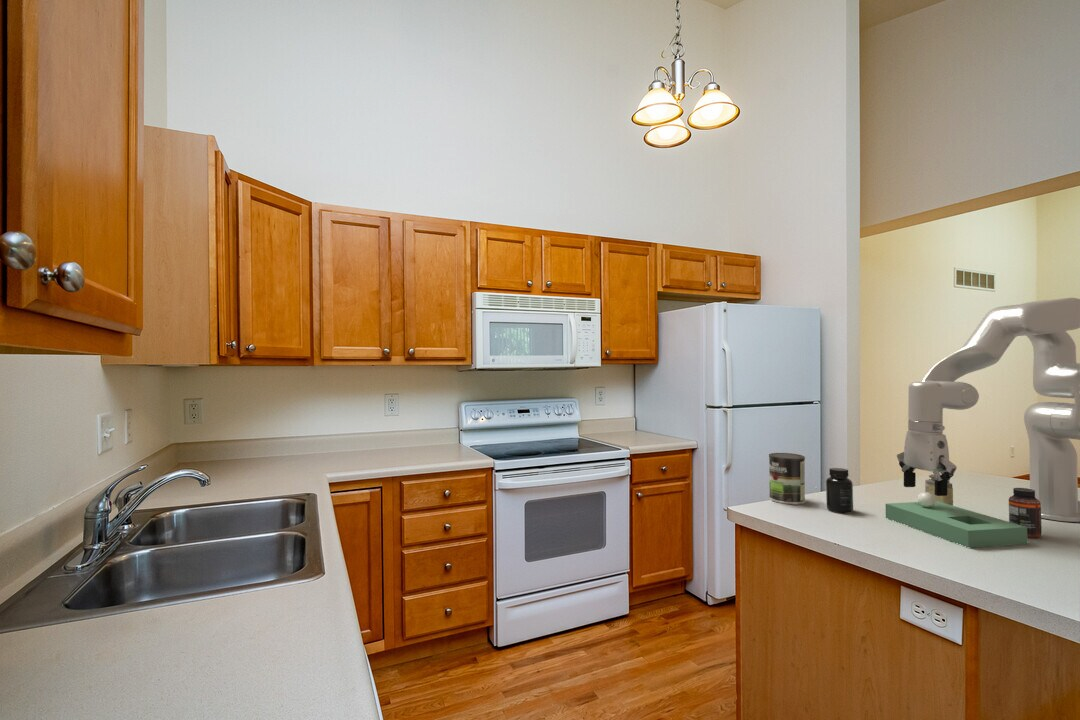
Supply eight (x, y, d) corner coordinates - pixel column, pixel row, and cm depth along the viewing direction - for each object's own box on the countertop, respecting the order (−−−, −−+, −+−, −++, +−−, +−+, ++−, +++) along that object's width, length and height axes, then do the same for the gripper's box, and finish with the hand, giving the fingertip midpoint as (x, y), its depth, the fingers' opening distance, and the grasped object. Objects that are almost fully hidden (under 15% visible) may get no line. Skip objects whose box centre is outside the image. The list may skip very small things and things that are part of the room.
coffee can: (788, 506, 158) (788, 459, 158) (762, 498, 167) (761, 454, 167) (813, 502, 162) (812, 456, 162) (785, 494, 171) (785, 451, 171)
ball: (926, 504, 143) (926, 490, 143) (940, 508, 140) (939, 493, 140) (913, 505, 143) (913, 490, 143) (926, 509, 139) (926, 494, 139)
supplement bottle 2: (1033, 532, 132) (1032, 487, 132) (1047, 539, 126) (1046, 492, 126) (1004, 530, 134) (1003, 485, 134) (1016, 537, 128) (1015, 491, 128)
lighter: (922, 507, 156) (921, 473, 156) (930, 505, 157) (929, 472, 157) (949, 513, 149) (948, 478, 149) (956, 511, 151) (956, 477, 151)
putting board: (936, 515, 147) (936, 500, 147) (1027, 544, 124) (1027, 527, 124) (885, 518, 145) (885, 503, 145) (968, 548, 121) (968, 530, 121)
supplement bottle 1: (853, 509, 154) (853, 468, 154) (853, 515, 148) (852, 472, 148) (827, 506, 158) (826, 466, 158) (825, 511, 152) (824, 470, 152)
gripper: (967, 431, 133) (967, 499, 133) (910, 424, 150) (910, 483, 150) (941, 431, 132) (941, 499, 132) (887, 424, 149) (886, 484, 149)
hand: (924, 491), depth 141 cm, fingers open, 9 cm apart
